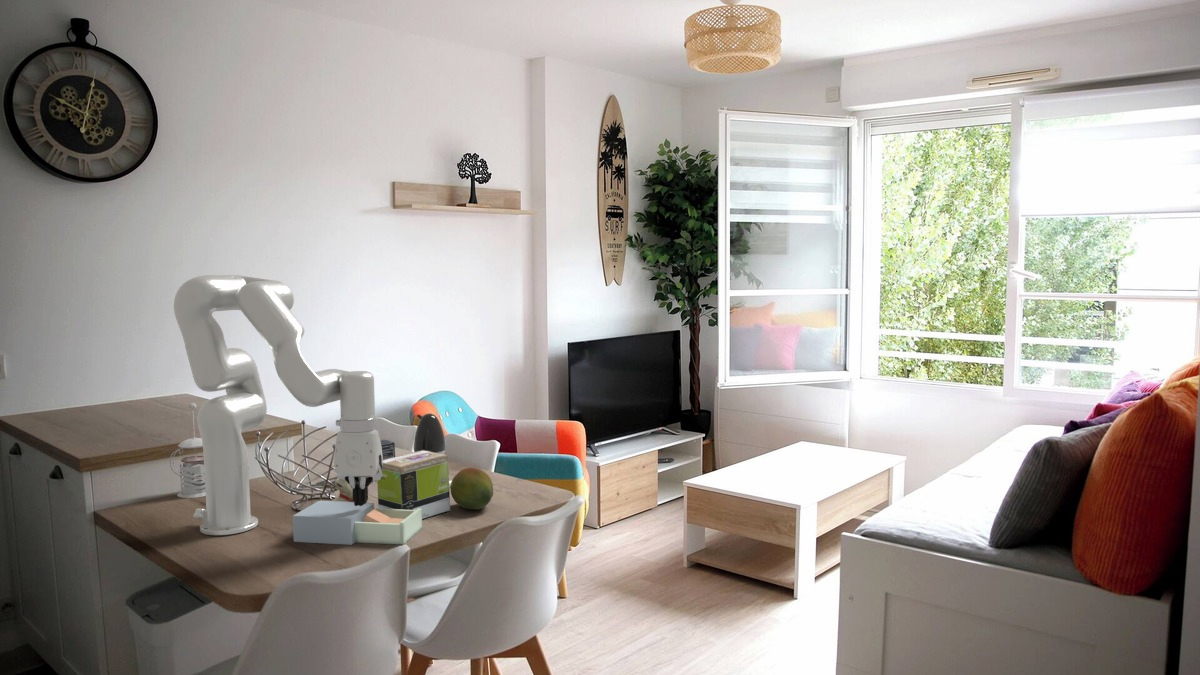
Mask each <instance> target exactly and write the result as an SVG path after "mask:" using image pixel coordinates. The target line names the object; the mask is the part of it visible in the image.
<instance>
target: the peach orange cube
mask: <svg viewBox="0 0 1200 675" xmlns="http://www.w3.org/2000/svg"><path fill="white" fill-rule="evenodd" d="M403 520H404V519H400V518H390V519H389V520H388V521H386V522H385V523H395V524H400V522H401V521H403Z"/></svg>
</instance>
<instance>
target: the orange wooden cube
mask: <svg viewBox="0 0 1200 675" xmlns="http://www.w3.org/2000/svg"><path fill="white" fill-rule="evenodd" d="M389 519H390V517H388V516H386V515H384V514H382V513H381V512H379V511H377V510H375V508H374V509H373V510H372V511H371V512H369V513H368V514H367V515H366V516H365V519H364V521H363V522H375V523H385V522H386V521H388V520H389Z"/></svg>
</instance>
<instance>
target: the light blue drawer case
mask: <svg viewBox="0 0 1200 675" xmlns="http://www.w3.org/2000/svg"><path fill="white" fill-rule="evenodd" d="M373 509H375V502H367V503H365V504H364V505H362V506H359V505H358V506H355V505H354V502H340V501H332V500H318V501H316V502H314V503H313V504H311V505H309V506H307V507H305V508H304V509H302V510H300V511H298V512H296V513H295V514H294V515H292V528H293V529H292V530H293V531H292V532H293V535H292V537H293V542H294V543H313V544H316V543H317V544H326V545H327V544H330V545H331V544H332V545H347V546H351V545H354V544H355V543H356V542H355V522H363V521H364V519H365V516H366V515H367V514H368V513H369V512H371V511H372V510H373Z"/></svg>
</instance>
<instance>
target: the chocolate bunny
mask: <svg viewBox="0 0 1200 675" xmlns="http://www.w3.org/2000/svg"><path fill="white" fill-rule="evenodd" d="M334 485H335V486H336V488H337V489H338V491H339V493H338V494H339V496H338V497H336V498H334V499H332V500H331V501H340V502H354V501H353V489H352V488H351V487H350V485H349V484H348V482H347V481H346V480H342V479H339V478H338V479H337V480H335V481H334Z"/></svg>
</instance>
